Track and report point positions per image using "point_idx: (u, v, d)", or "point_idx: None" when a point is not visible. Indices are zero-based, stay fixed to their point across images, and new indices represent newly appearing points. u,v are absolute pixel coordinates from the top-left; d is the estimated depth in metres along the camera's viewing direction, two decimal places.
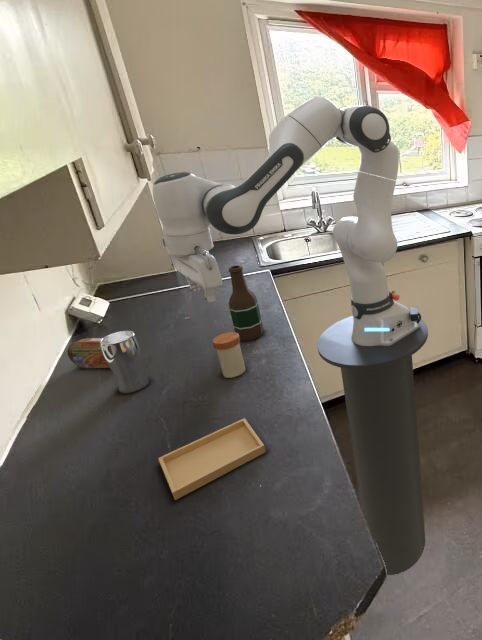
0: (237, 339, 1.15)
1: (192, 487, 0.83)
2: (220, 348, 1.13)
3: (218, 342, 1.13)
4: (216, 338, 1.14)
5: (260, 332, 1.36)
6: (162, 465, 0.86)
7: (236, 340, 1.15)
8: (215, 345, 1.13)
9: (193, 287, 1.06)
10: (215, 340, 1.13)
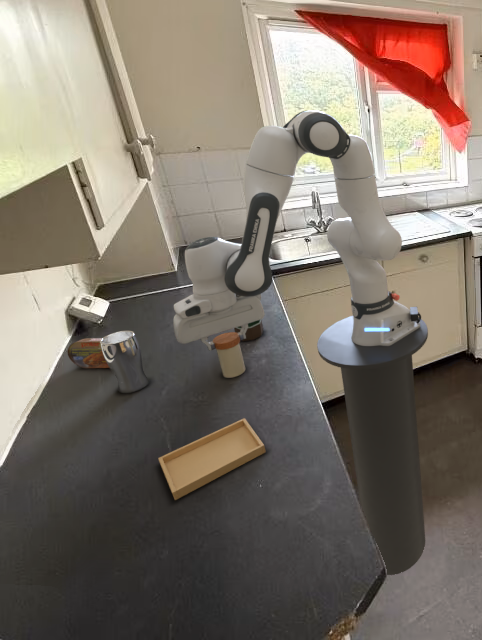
0: (237, 339, 1.15)
1: (192, 487, 0.83)
2: (220, 348, 1.13)
3: (218, 342, 1.13)
4: (216, 338, 1.14)
5: (260, 332, 1.36)
6: (162, 465, 0.86)
7: (236, 340, 1.15)
8: (215, 345, 1.13)
9: None
10: (215, 340, 1.13)
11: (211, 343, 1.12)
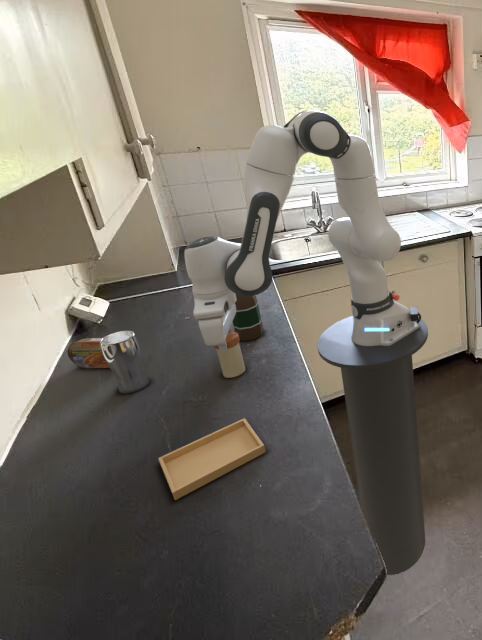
0: None
1: (192, 487, 0.83)
2: (233, 344, 1.14)
3: (228, 340, 1.13)
4: None
5: (260, 332, 1.36)
6: (162, 465, 0.86)
7: None
8: None
9: None
10: None
11: (224, 344, 1.12)
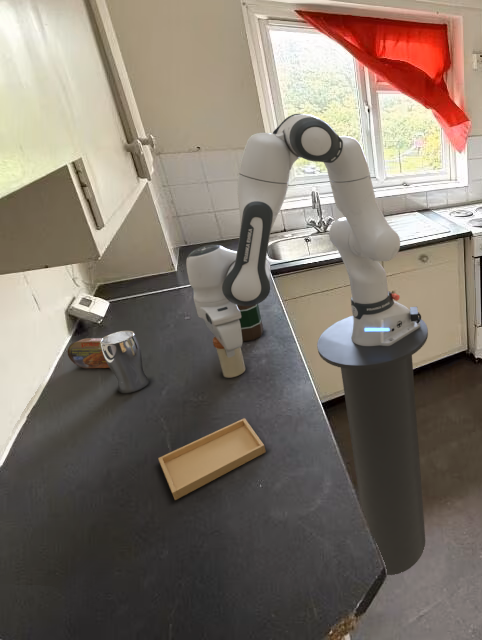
0: None
1: (192, 487, 0.83)
2: None
3: None
4: None
5: (260, 332, 1.36)
6: (162, 465, 0.86)
7: None
8: None
9: None
10: None
11: None
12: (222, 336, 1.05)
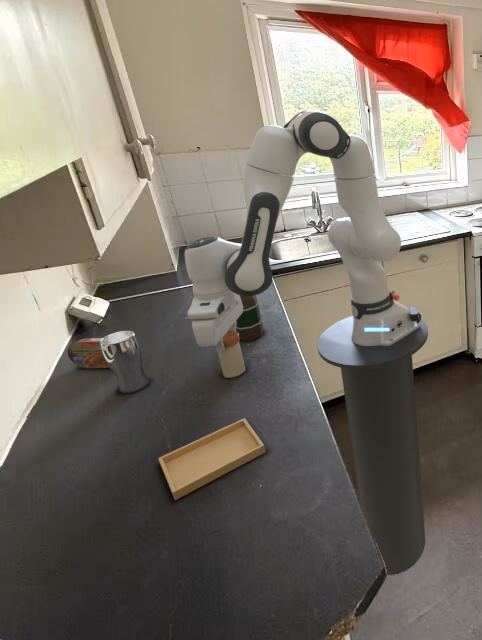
0: None
1: (192, 487, 0.83)
2: None
3: (235, 333, 1.16)
4: (230, 338, 1.14)
5: (260, 332, 1.36)
6: (162, 465, 0.86)
7: None
8: (238, 336, 1.16)
9: None
10: (234, 336, 1.15)
11: None
12: (194, 332, 1.03)
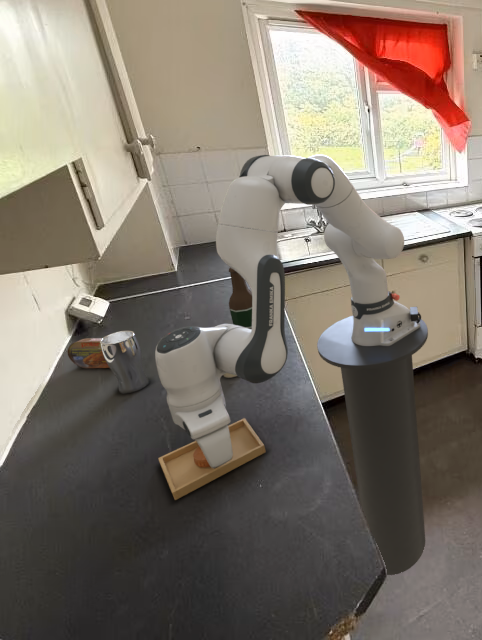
0: None
1: (192, 487, 0.83)
2: None
3: None
4: None
5: None
6: (162, 465, 0.86)
7: None
8: None
9: None
10: None
11: None
12: (205, 452, 0.79)
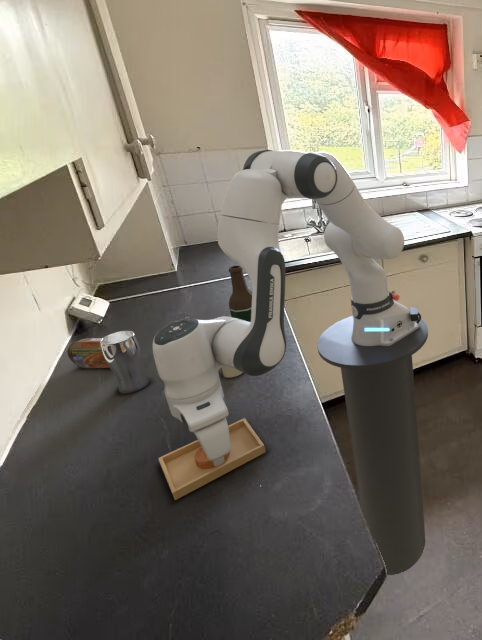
0: None
1: (192, 487, 0.83)
2: None
3: None
4: None
5: None
6: (162, 465, 0.86)
7: None
8: None
9: None
10: None
11: None
12: (203, 444, 0.79)
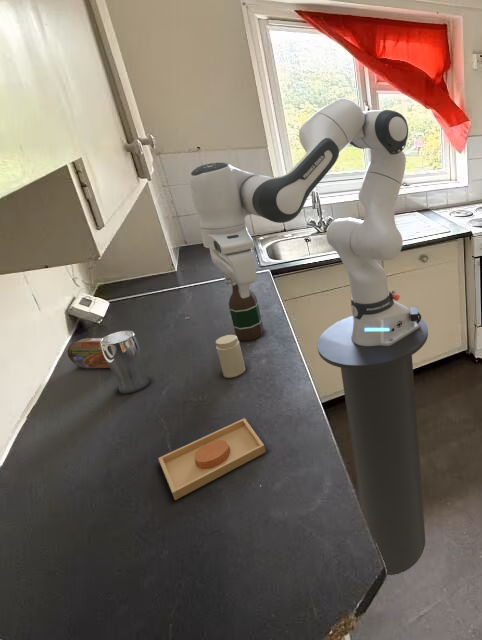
0: None
1: (192, 487, 0.83)
2: None
3: (221, 442, 0.91)
4: (223, 449, 0.90)
5: (260, 332, 1.36)
6: (162, 465, 0.86)
7: None
8: None
9: None
10: (224, 445, 0.91)
11: None
12: (233, 267, 0.91)
